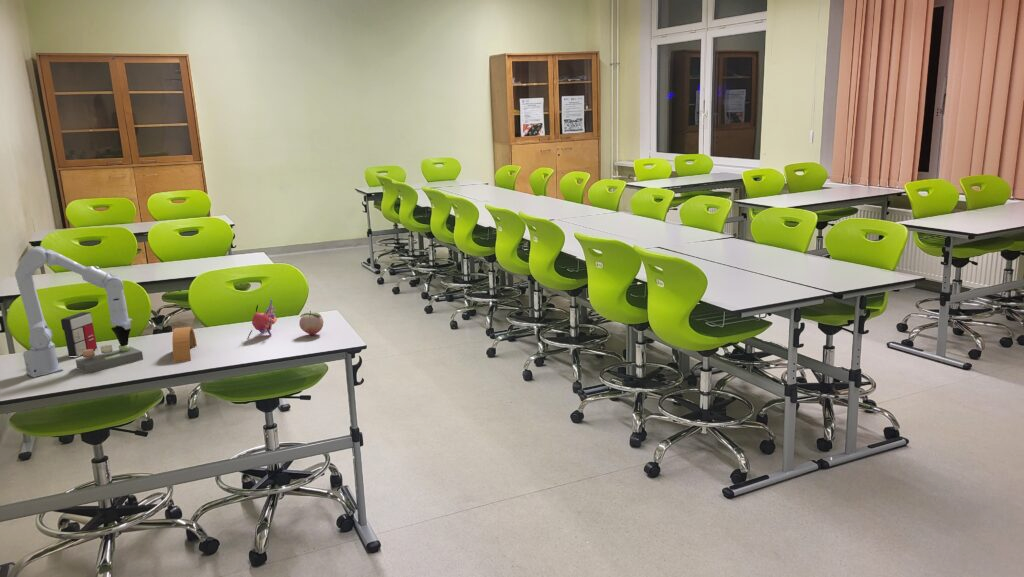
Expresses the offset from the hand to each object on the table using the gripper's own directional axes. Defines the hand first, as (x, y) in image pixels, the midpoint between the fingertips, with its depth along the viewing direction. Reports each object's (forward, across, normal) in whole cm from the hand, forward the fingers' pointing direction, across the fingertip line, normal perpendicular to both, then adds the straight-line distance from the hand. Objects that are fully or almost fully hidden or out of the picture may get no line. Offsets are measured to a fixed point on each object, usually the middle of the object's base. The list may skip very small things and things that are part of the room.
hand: (124, 345), depth 270 cm
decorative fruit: (+5, -32, -58) cm, 67 cm away
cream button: (+1, 0, +6) cm, 6 cm away
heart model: (+5, -14, -47) cm, 50 cm away
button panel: (+5, -2, +6) cm, 8 cm away
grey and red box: (+5, +22, +8) cm, 24 cm away
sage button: (+2, 0, 0) cm, 2 cm away
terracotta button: (+1, 0, +12) cm, 12 cm away
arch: (+6, -14, -16) cm, 22 cm away
